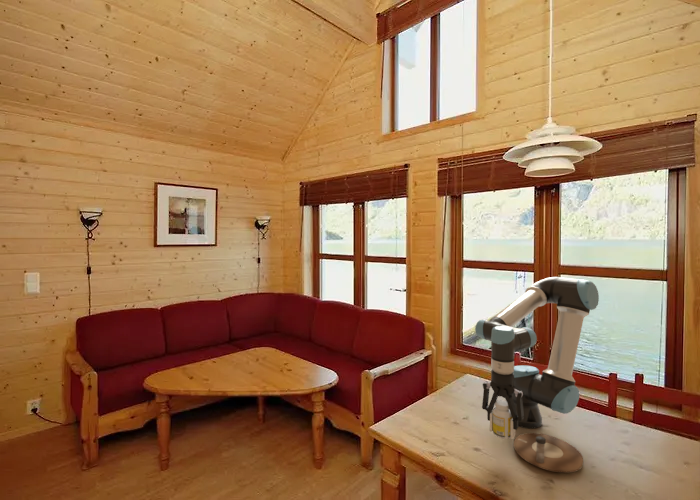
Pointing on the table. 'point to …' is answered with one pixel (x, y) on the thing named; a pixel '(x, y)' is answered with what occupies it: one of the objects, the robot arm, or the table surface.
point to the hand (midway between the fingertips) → (502, 433)
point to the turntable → (548, 452)
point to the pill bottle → (501, 419)
